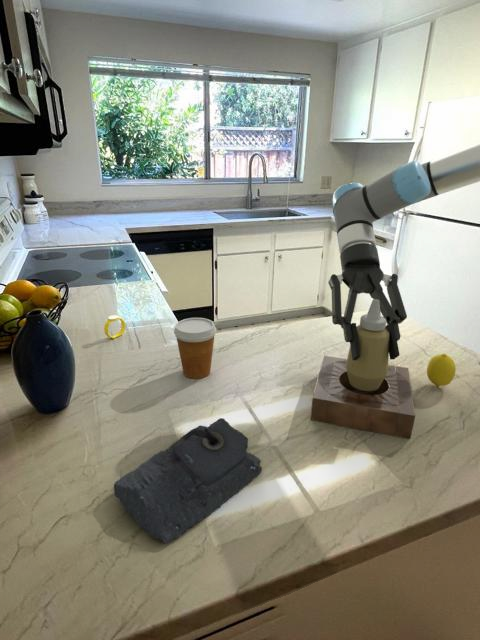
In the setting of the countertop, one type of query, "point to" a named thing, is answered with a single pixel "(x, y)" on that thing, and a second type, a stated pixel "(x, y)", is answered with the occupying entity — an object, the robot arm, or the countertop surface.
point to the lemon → (441, 370)
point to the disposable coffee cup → (195, 346)
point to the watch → (110, 319)
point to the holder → (364, 400)
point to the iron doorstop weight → (188, 480)
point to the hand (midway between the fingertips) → (375, 357)
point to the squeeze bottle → (370, 351)
